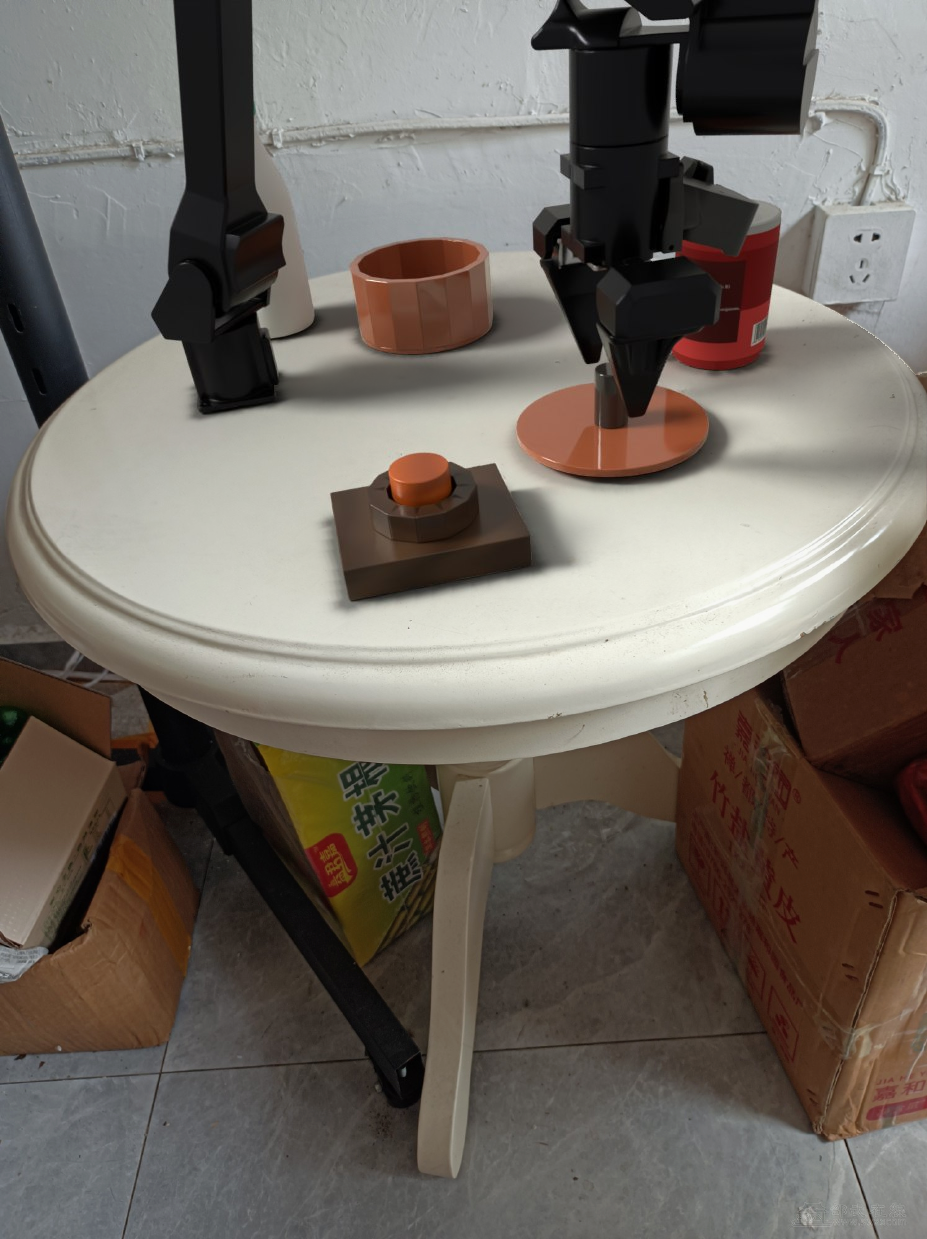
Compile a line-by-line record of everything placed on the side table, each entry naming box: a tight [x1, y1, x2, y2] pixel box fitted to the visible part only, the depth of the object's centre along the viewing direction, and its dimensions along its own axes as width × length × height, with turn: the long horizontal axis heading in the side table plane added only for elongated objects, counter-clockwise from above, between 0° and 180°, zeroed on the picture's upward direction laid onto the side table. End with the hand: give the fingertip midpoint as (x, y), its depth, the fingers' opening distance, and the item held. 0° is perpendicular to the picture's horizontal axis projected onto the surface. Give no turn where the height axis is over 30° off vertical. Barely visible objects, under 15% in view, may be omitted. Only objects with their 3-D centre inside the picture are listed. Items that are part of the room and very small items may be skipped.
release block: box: [329, 461, 533, 601], centre depth 53 cm, size 11×9×4 cm
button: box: [387, 452, 452, 507], centre depth 51 cm, size 4×4×2 cm
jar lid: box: [515, 361, 710, 478], centre depth 61 cm, size 14×14×5 cm
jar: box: [348, 236, 494, 355], centre depth 80 cm, size 13×13×6 cm
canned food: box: [671, 198, 782, 371], centre depth 69 cm, size 8×8×11 cm
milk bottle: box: [254, 102, 316, 339], centre depth 80 cm, size 8×8×20 cm
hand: (612, 388), depth 60 cm, fingers open, 9 cm apart
